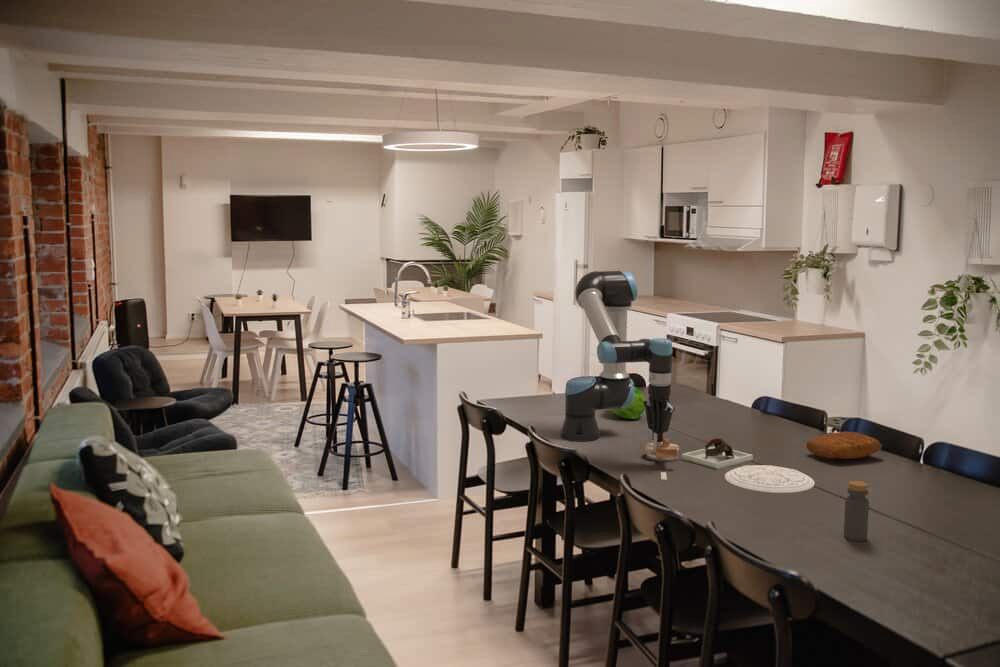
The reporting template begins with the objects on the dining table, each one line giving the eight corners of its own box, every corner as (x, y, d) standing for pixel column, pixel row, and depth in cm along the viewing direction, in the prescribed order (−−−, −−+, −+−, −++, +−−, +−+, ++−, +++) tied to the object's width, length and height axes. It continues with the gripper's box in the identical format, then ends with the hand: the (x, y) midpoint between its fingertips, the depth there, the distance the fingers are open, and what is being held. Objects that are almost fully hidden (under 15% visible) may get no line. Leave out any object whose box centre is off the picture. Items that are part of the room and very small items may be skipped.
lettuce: (596, 418, 390) (627, 420, 395) (619, 418, 369) (651, 420, 374) (597, 385, 392) (628, 387, 397) (620, 382, 371) (653, 385, 375)
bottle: (839, 534, 241) (842, 480, 239) (860, 533, 242) (863, 479, 240) (849, 541, 235) (852, 486, 233) (871, 541, 236) (874, 486, 234)
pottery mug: (738, 463, 309) (728, 444, 307) (712, 473, 312) (702, 455, 310) (733, 446, 320) (724, 428, 318) (708, 456, 323) (699, 438, 321)
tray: (681, 459, 316) (681, 453, 315) (717, 451, 327) (717, 445, 326) (716, 469, 303) (717, 463, 302) (752, 460, 314) (752, 455, 313)
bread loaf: (851, 449, 328) (852, 428, 327) (885, 461, 312) (886, 439, 311) (801, 454, 321) (802, 433, 320) (833, 467, 305) (834, 444, 304)
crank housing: (640, 456, 320) (640, 450, 319) (661, 451, 326) (661, 445, 326) (662, 463, 311) (662, 456, 310) (684, 458, 317) (684, 451, 317)
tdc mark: (660, 472, 299) (660, 472, 299) (666, 473, 299) (666, 472, 299) (661, 479, 291) (661, 479, 291) (666, 480, 291) (666, 479, 291)
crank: (644, 445, 324) (644, 427, 324) (677, 446, 323) (677, 427, 322) (648, 462, 303) (649, 442, 302) (684, 462, 302) (685, 442, 301)
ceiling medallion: (814, 473, 300) (814, 464, 299) (814, 498, 273) (815, 488, 273) (728, 466, 309) (728, 457, 308) (721, 489, 282) (721, 479, 282)
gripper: (638, 381, 307) (636, 448, 311) (665, 388, 297) (663, 456, 301) (653, 379, 312) (651, 444, 315) (681, 385, 301) (678, 453, 305)
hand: (657, 450), depth 308 cm, fingers closed
